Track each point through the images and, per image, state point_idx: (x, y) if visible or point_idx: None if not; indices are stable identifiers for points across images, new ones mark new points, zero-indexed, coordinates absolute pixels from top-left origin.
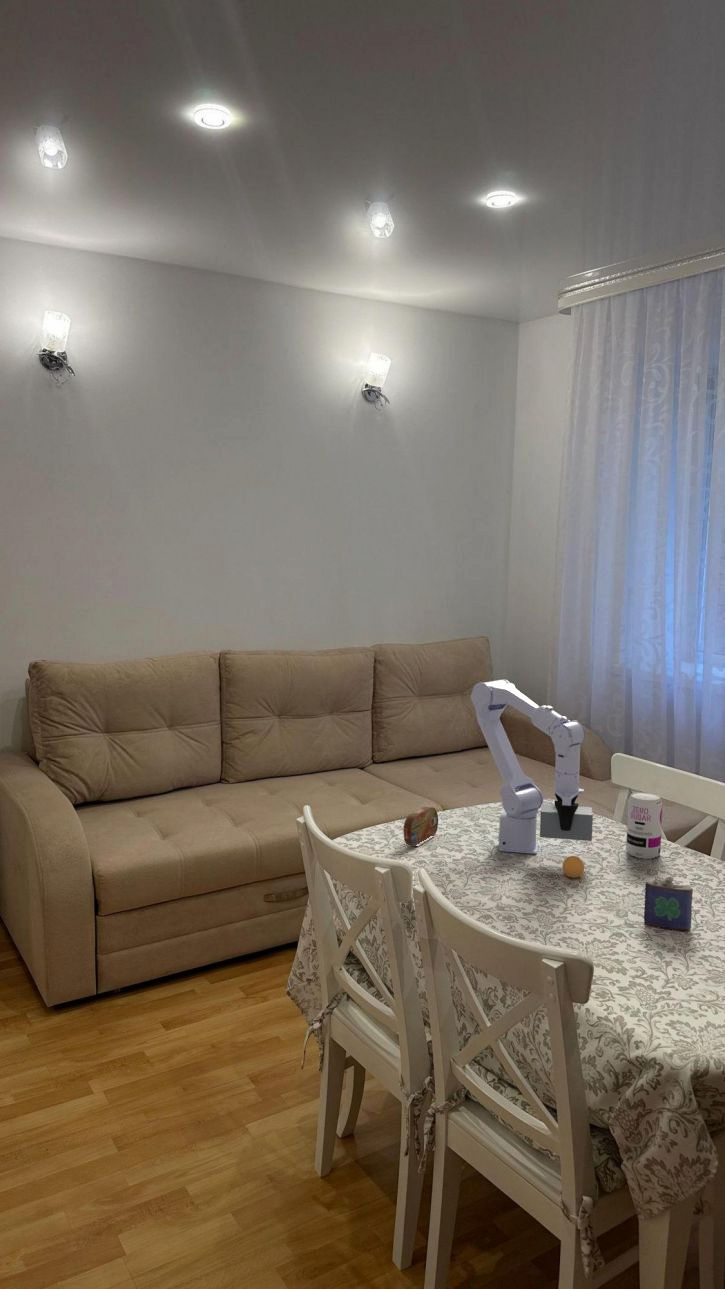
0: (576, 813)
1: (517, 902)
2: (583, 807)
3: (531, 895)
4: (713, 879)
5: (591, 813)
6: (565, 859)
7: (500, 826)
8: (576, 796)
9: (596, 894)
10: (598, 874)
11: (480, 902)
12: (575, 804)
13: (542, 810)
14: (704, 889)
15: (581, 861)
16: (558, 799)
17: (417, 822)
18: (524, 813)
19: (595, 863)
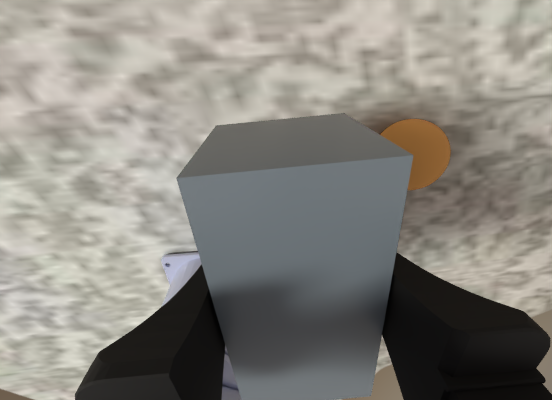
0: (380, 265)
1: (546, 244)
2: (211, 238)
3: (512, 225)
4: None
5: (365, 168)
6: (415, 188)
7: None
8: (181, 358)
9: (530, 64)
10: (358, 66)
11: (533, 296)
12: (507, 350)
13: (350, 393)
14: None
15: (434, 135)
16: (218, 397)
17: None
18: (228, 382)
19: (255, 83)
